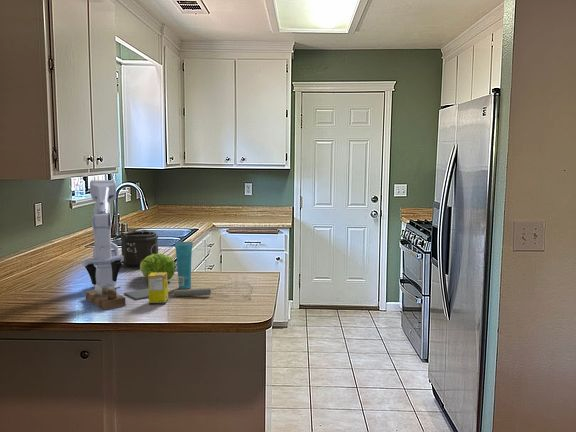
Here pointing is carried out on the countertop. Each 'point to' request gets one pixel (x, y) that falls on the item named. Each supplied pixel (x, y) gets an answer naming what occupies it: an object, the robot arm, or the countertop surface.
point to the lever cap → (103, 289)
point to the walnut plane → (106, 299)
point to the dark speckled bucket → (138, 247)
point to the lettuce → (158, 265)
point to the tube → (184, 263)
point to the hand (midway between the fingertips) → (104, 282)
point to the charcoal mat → (138, 294)
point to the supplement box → (158, 288)
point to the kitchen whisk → (202, 291)
